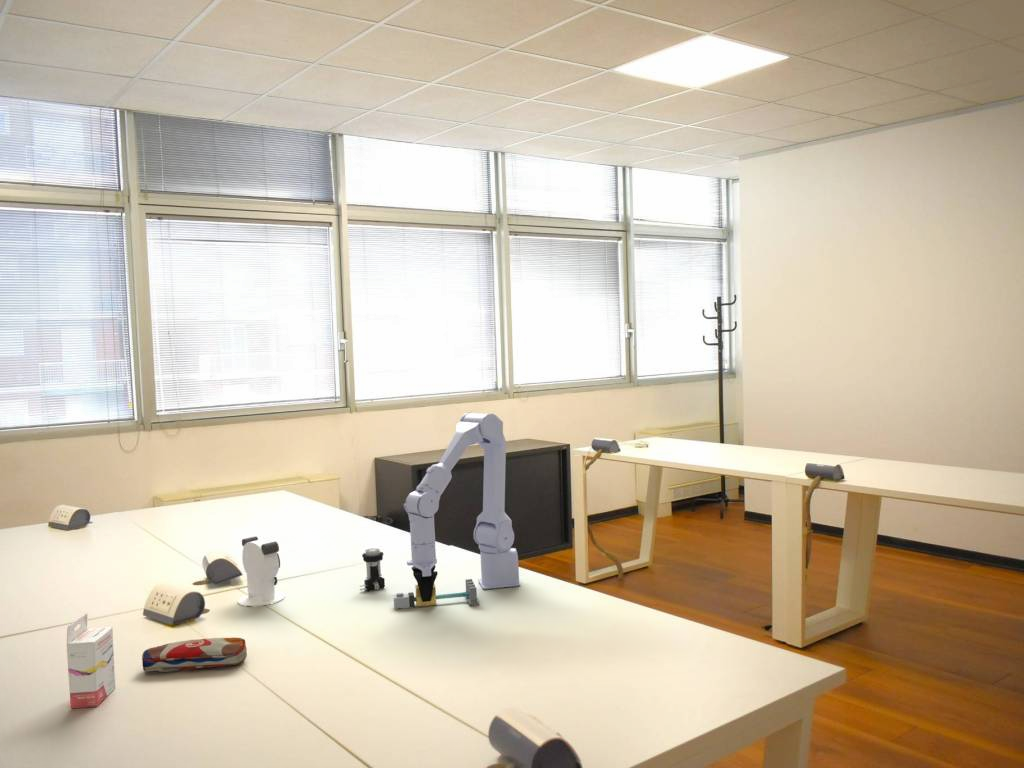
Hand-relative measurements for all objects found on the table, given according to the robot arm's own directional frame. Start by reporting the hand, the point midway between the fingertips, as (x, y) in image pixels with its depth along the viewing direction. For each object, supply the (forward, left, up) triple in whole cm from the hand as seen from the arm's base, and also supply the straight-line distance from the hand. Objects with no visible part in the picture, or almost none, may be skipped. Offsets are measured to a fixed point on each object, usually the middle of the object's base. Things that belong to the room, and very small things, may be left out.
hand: (425, 598), depth 200 cm
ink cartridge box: (+63, +36, -2) cm, 73 cm away
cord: (-3, 0, -1) cm, 3 cm away
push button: (+12, -17, -2) cm, 21 cm away
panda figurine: (+39, -17, -2) cm, 43 cm away
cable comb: (-11, 0, -1) cm, 11 cm away
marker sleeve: (0, 0, -1) cm, 1 cm away
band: (+3, 0, -1) cm, 4 cm away
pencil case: (+48, +25, -2) cm, 54 cm away
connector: (+6, 0, -1) cm, 6 cm away
